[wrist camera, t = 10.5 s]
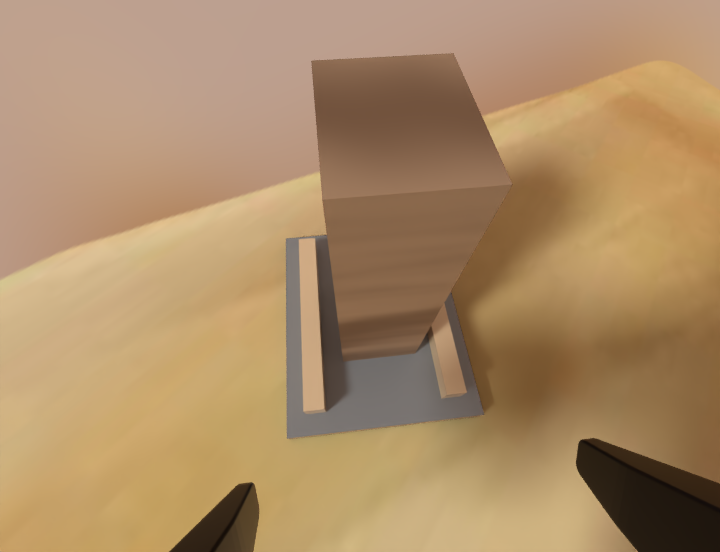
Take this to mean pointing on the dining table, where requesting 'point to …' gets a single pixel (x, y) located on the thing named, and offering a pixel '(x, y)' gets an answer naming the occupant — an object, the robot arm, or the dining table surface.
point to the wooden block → (400, 192)
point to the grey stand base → (364, 362)
